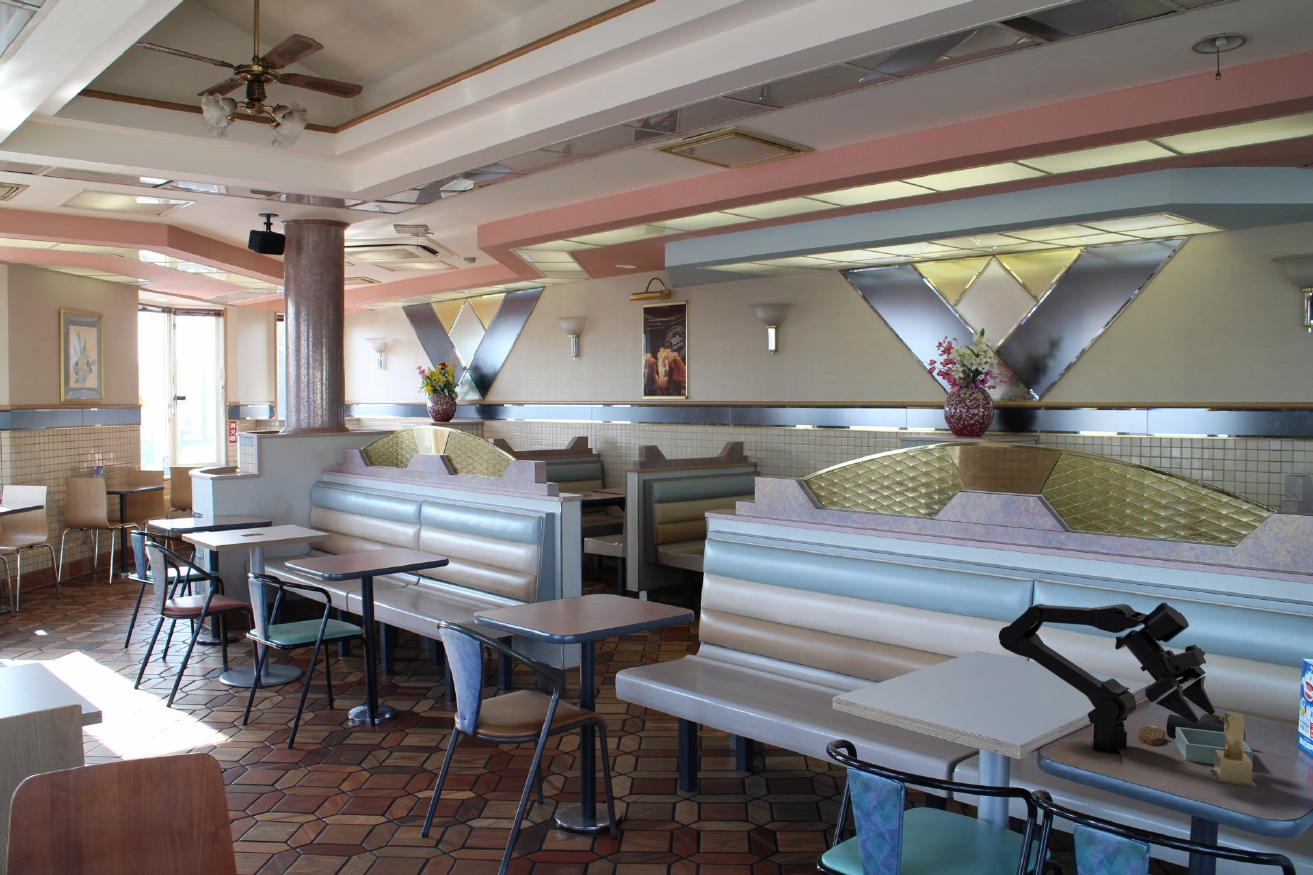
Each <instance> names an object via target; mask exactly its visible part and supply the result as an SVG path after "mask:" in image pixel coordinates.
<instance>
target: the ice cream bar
mask: <svg viewBox="0 0 1313 875" xmlns="http://www.w3.org/2000/svg"><path fill="white" fill-rule="evenodd" d="M1137 737H1138V741H1139V742H1140V743H1142V744H1144V745H1147V746H1158V745H1163V744H1164V743H1165V741H1166V738H1165V737H1166V732H1165V730H1163V729H1162V728H1160V727H1158V726H1155V725H1151V726H1147V725H1145V726H1142V727H1140V729H1139V731H1138V736H1137Z"/></svg>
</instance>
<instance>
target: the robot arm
mask: <svg viewBox="0 0 1313 875" xmlns="http://www.w3.org/2000/svg"><path fill="white" fill-rule="evenodd" d="M1044 623H1049V624H1050V623H1053V624H1065V625H1076V626H1077V625H1078V626H1089V627H1093V628H1095V629H1098V630H1100V631H1105V632H1108V633H1112V634H1119V633H1123V632H1126V631H1128V630H1130V631H1128V632H1127V633H1126V634H1125V635H1124V636H1122V635H1118V636H1116V637H1115V647H1114V648H1115V650H1121V649H1124V648H1125V647H1126V648H1127V649H1128V651H1129V652H1130V653H1131V655H1133V656H1134V658H1136V660H1137V661H1138V662H1139V663H1140V665H1141V666H1140V667H1139V669H1140V670H1141V672H1147V673H1148V674H1149V676H1151V678H1152V679H1153V680H1154V682H1153V683H1152V684H1151V685H1149V686H1148V687H1146V688H1145V689H1144V696H1145V697H1146V698H1147V700H1148V701H1149V702H1150V703H1154V702H1155V705H1157V706H1158V705H1159V706H1160V707H1163V708H1164V709H1166V710H1169V711H1171V712H1173V713H1175V714H1176V715H1177V716H1181V717H1184V718H1186V719H1187V720H1189V721H1191V722H1193V723H1197V722H1198V721H1199V720H1200V719H1199V718H1198V716H1197V714H1196V713H1195V711H1194V710H1193V708H1192V707H1191V706H1190V704H1189V703H1188V702H1187V700H1189V701H1190V702H1191V703H1193V704H1194V705H1196V706H1197V707H1198V708H1200V709H1202V710H1203V711H1204V712H1205V713H1209V714H1210V715H1212V714H1216V710H1215V708H1214V707H1213V704H1212V702H1211V701H1210V699H1209V696H1208V694H1207V692H1206V690H1205V687H1204V685H1205V680H1206V673H1207V672H1206V671H1205V670H1204V669H1203V668H1202V667H1201V666H1202V665H1203V664H1207V661H1206V659H1205V655H1206V652H1205V651H1203V650H1202V648H1201V647H1199V646H1197V645H1196V644H1191V645H1188V646H1185V647H1184V651H1183V652H1179V653H1174V652H1173V651H1172V650H1171V649H1167V650H1165V648H1163V646H1162V645H1161V644H1160V643H1159V642H1164V643H1169V642H1170V641H1172V640H1173V639H1175V638H1176V637H1177V636H1178V635H1180V634H1181V633H1183V632H1184V631H1185V630H1186V629H1188V628H1189V627H1190V624H1189V622H1188V620H1187V618H1186V617H1185V616H1184V615H1183V614H1182V612H1179V611H1178V609H1177V610H1176V609H1175V608H1174V607H1173V606H1171V605H1169V604H1168V603H1167V602H1165V601H1164V602H1161V603H1160V604H1158V605H1157V606H1156V607H1155V609H1153V610H1152V611H1151V612H1149V613H1148V614H1147V613H1145V612H1141V611H1140V612H1139V611H1136V610H1135V609H1133V607H1132V606H1130V605H1129V604H1126V603H1119V604H1111V605H1110V604H1109V605H1103V606H1097V607H1096V606H1095V607H1085V606H1069V605H1068V606H1066V605H1051V604H1043V603H1037V604H1033V605H1030V606H1029V607H1028V608H1027V609H1026V610H1025V612H1023V613H1022V614H1021V615H1020V616H1019V617H1017V618H1016V619H1015V620H1014V621H1013V622H1012V623H1011V624H1010V625H1006V626H1004V627H1002V628H1001V629H1000V630H999V632H998V640H999V644H1000V646H1001V647H1002V648H1003V649H1004V650H1006V651H1009V652H1011V653H1013V654H1015V655H1017V656H1021V657H1024V658H1027V659H1030V660H1033V661H1034V662H1035V663H1038V664H1039V665H1040V666H1042V667H1043V668H1044V669H1046V670H1047V671H1049V672H1051V673H1052V674H1054V675H1055V676H1056V677H1058V678H1059V679H1061V680H1063V681H1064V683H1067V684H1068V685H1069V686H1071V687H1072V688H1074V689H1075V690H1077V691H1078V692H1080V693H1081V694H1084V696H1086V698H1087V699H1088V700H1089V702H1090V703H1091V705H1092V706H1093V709H1092V710H1090V711H1089V712H1088V713H1087V717H1088V721H1089V723H1090V724H1091V740H1090V745H1091V746H1090V747H1091V749H1092V751H1093V752H1097V753H1104V754H1105V753H1106V754H1113V755H1114V754H1115V755H1121V752H1120V750H1127V747H1128V732H1127V730H1126V728H1125V724H1124V722H1125V721H1127V719H1128V717H1129V715H1131V714H1133V713H1134V712H1135V711H1136V709H1137V700H1136V697H1135V695H1134V694H1133V693H1132V692H1131V691H1129V690H1130V687H1127V686H1124V685H1122V684H1121V683H1120V682H1119V681H1118V680H1116V679H1115V678H1113V677H1112V678H1109V679H1107V680H1101V679H1098V678H1097V677H1096V676H1094V675H1092V674H1090V673H1089V672H1087V671H1086V670H1084V669H1083V668H1082V667H1080V666H1078V665H1077V664H1075V663H1074V662H1072V661H1071V660H1069V659H1068V658H1066V657H1064V656H1063V655H1061V654H1060V653H1059V652H1057V651H1056V650H1054V649H1053V648H1051V647H1049V646H1048V645H1046V644H1045V643H1044V642H1043V640H1042V638H1041V637H1040V635H1039V634H1038V633H1037V632H1038V631H1039V630H1040V628H1041V627H1042V626H1043V624H1044ZM1141 626H1142V627H1141ZM1138 627H1141V628H1140V629H1139V630H1136V629H1134V628H1138ZM1186 699H1187V700H1186Z"/></svg>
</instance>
